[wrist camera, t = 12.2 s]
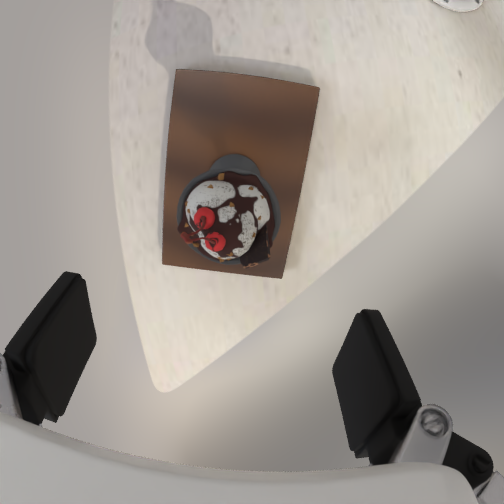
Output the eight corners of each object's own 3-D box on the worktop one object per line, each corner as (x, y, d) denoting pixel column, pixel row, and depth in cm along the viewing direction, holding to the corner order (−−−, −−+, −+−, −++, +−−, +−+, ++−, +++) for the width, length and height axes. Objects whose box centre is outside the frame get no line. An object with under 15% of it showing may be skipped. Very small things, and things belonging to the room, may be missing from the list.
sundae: (192, 151, 27) (140, 202, 14) (265, 140, 27) (284, 180, 14) (204, 217, 30) (174, 314, 17) (273, 208, 30) (294, 301, 17)
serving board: (179, 70, 25) (175, 68, 24) (316, 88, 26) (320, 87, 25) (165, 258, 34) (162, 264, 33) (280, 271, 35) (281, 279, 34)
